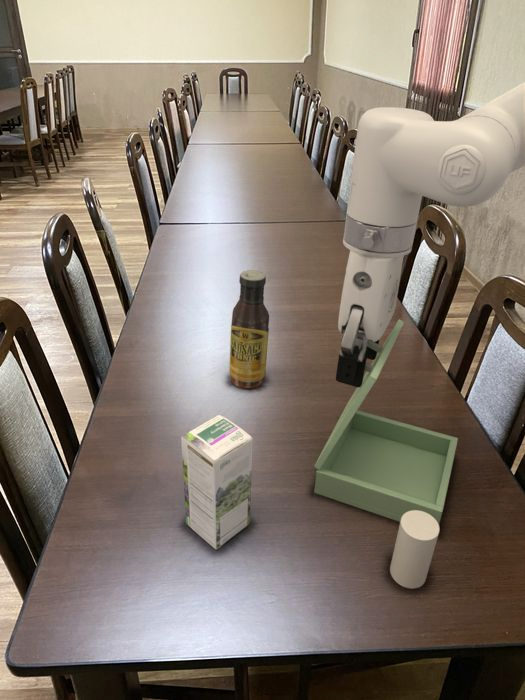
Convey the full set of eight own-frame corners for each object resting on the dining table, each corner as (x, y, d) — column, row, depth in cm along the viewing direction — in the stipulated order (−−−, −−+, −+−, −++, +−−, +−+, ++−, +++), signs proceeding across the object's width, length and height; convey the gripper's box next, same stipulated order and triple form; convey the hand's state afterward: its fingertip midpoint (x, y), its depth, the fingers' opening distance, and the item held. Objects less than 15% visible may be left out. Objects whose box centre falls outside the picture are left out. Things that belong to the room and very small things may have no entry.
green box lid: (404, 321, 70) (371, 304, 71) (376, 379, 59) (338, 357, 59) (351, 406, 80) (323, 390, 81) (319, 470, 69) (286, 450, 69)
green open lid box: (452, 458, 77) (458, 437, 75) (436, 534, 66) (442, 512, 64) (346, 428, 83) (349, 407, 81) (314, 492, 71) (316, 471, 69)
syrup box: (219, 499, 70) (217, 410, 62) (252, 525, 66) (253, 434, 59) (185, 524, 66) (178, 433, 58) (217, 553, 63) (214, 460, 55)
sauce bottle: (224, 387, 91) (223, 279, 81) (235, 368, 96) (234, 264, 86) (262, 393, 90) (265, 284, 79) (270, 373, 95) (274, 269, 85)
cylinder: (426, 563, 62) (439, 514, 58) (425, 593, 59) (439, 544, 55) (391, 554, 63) (402, 506, 59) (388, 583, 60) (399, 534, 55)
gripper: (396, 266, 50) (367, 416, 60) (427, 216, 64) (400, 345, 74) (320, 251, 53) (304, 397, 62) (366, 206, 66) (347, 332, 76)
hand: (356, 368), depth 68 cm, fingers closed on green box lid, 6 cm apart
